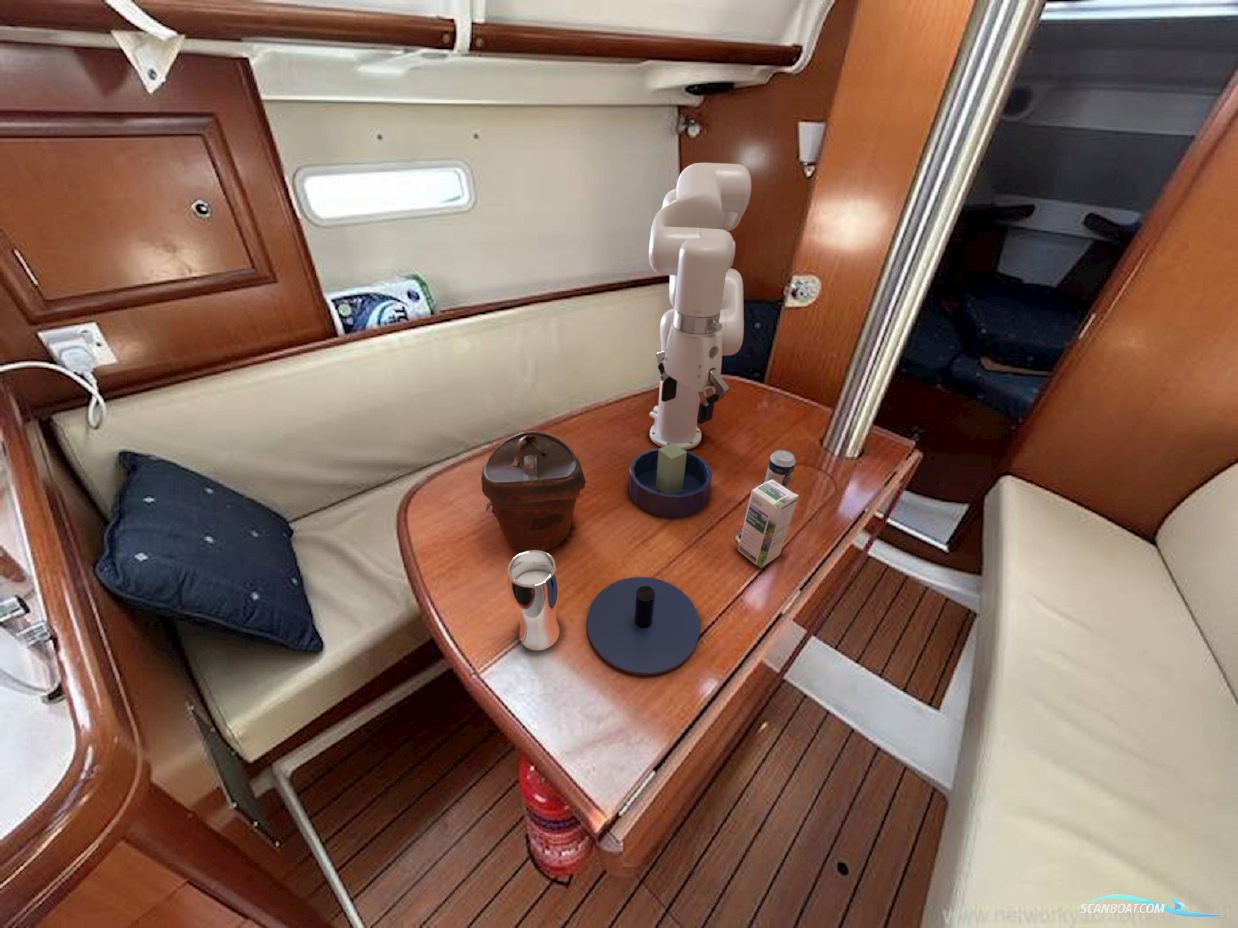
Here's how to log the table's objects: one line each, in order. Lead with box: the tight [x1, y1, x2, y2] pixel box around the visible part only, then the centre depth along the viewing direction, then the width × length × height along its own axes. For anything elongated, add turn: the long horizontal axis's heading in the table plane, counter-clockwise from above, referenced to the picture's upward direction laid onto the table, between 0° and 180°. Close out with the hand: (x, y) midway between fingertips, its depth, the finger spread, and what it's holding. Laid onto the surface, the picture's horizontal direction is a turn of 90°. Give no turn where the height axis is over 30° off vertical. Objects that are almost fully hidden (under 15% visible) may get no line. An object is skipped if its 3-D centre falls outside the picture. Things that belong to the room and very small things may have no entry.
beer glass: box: [506, 550, 560, 652], centre depth 73 cm, size 7×7×15 cm
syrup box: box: [737, 479, 799, 569], centre depth 88 cm, size 6×6×14 cm
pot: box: [628, 447, 713, 519], centre depth 104 cm, size 17×17×5 cm
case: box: [480, 430, 587, 552], centre depth 91 cm, size 18×20×18 cm
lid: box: [586, 576, 701, 676], centre depth 77 cm, size 18×18×8 cm
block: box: [656, 443, 687, 494], centre depth 103 cm, size 4×4×10 cm
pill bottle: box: [763, 449, 797, 490], centre depth 100 cm, size 5×5×12 cm
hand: (685, 410), depth 93 cm, fingers open, 9 cm apart
